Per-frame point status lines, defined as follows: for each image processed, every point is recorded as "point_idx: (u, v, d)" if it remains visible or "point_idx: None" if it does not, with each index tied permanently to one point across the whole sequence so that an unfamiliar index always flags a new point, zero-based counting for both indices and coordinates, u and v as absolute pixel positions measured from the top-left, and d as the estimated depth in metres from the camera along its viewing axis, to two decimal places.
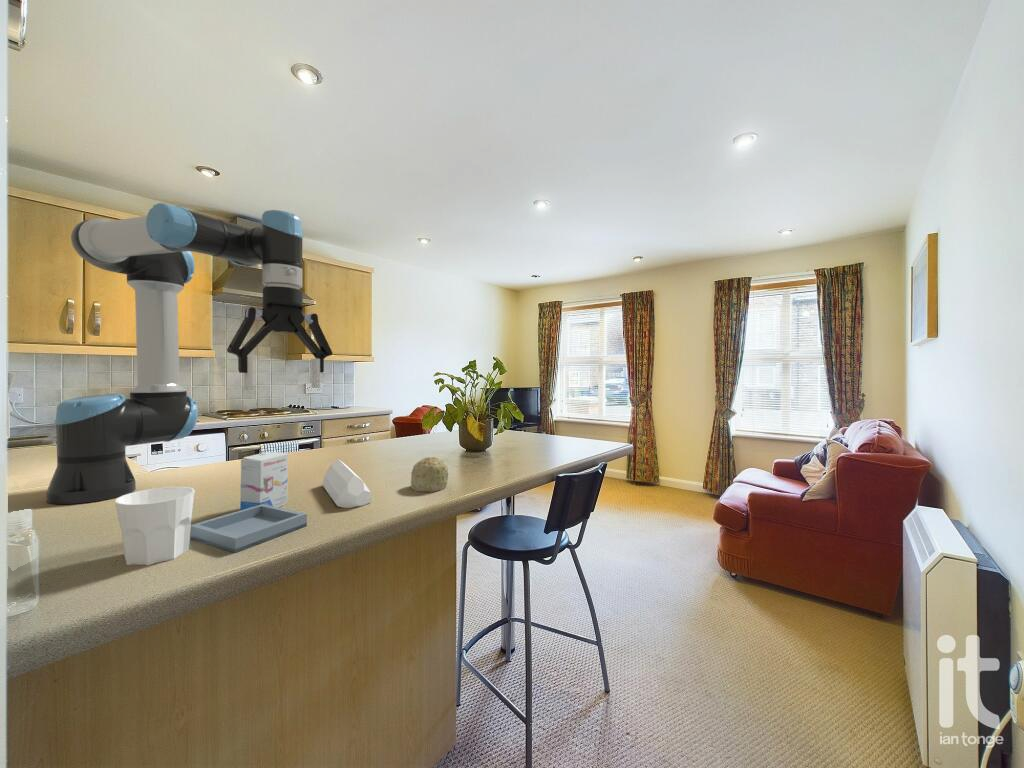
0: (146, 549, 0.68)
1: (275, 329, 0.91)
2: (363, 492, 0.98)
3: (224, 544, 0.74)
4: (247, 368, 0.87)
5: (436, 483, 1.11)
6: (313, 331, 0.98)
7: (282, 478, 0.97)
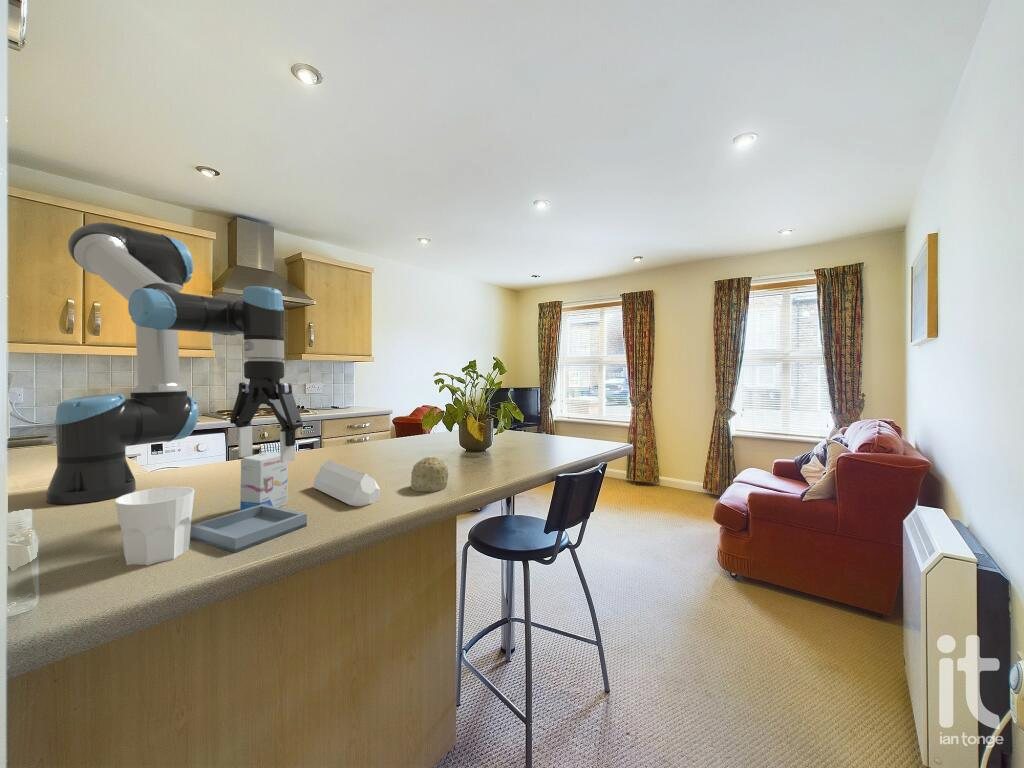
0: (146, 549, 0.68)
1: (255, 401, 0.95)
2: (375, 490, 1.00)
3: (224, 544, 0.74)
4: None
5: (436, 484, 1.11)
6: None
7: (282, 478, 0.97)
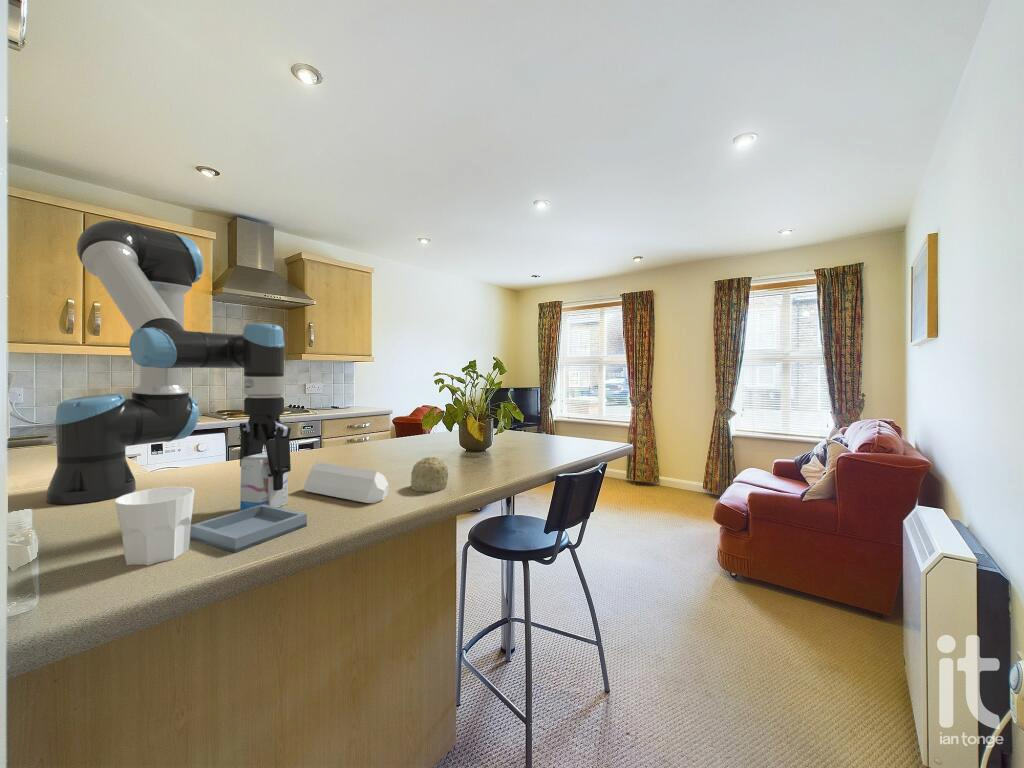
0: (146, 549, 0.68)
1: None
2: (386, 486, 1.03)
3: (224, 544, 0.74)
4: None
5: (436, 483, 1.11)
6: None
7: None
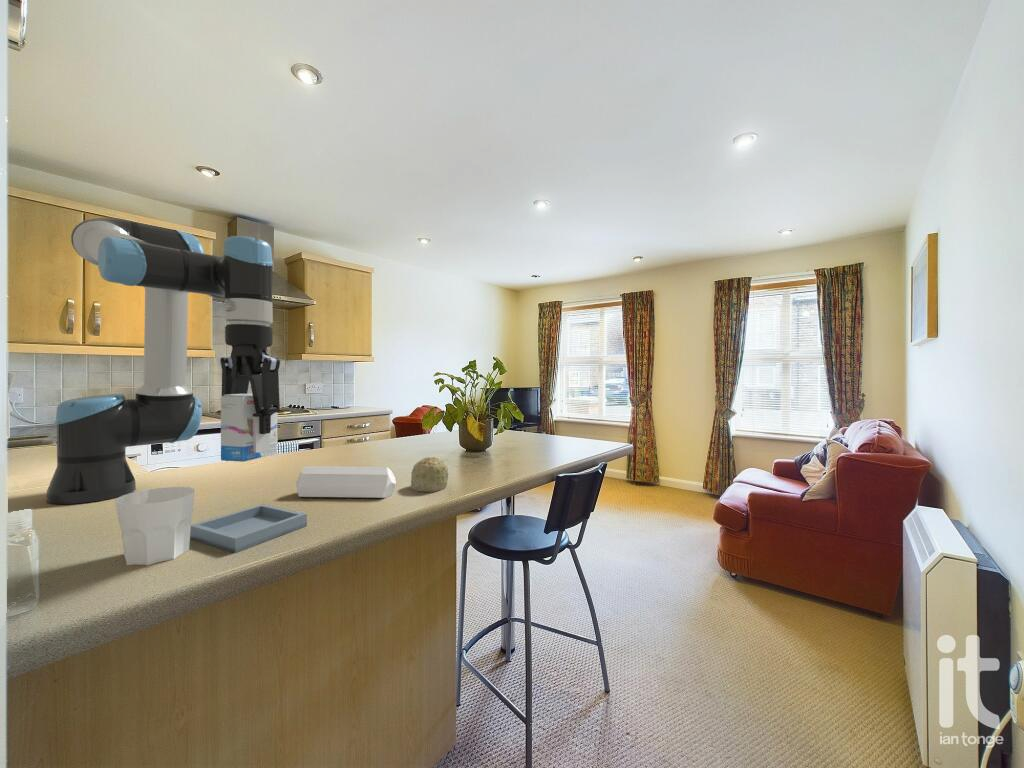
0: (146, 549, 0.68)
1: (238, 372, 0.81)
2: None
3: (224, 544, 0.74)
4: None
5: (436, 484, 1.11)
6: None
7: (271, 422, 0.83)
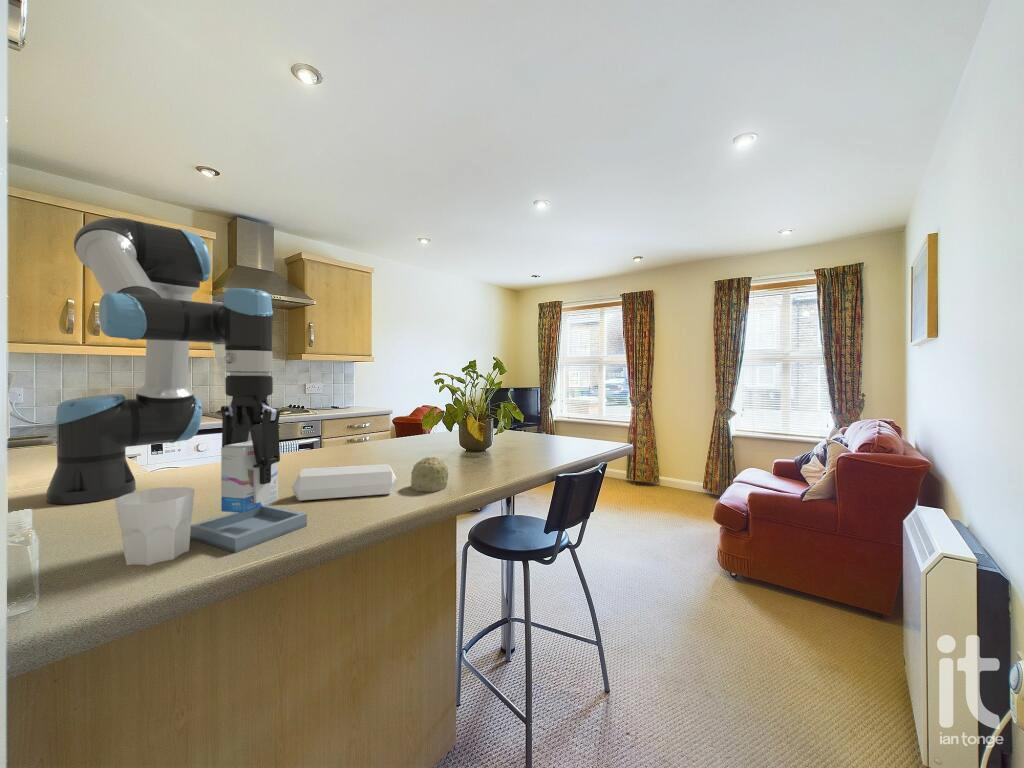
0: (146, 549, 0.68)
1: None
2: None
3: (224, 544, 0.74)
4: None
5: (436, 484, 1.11)
6: None
7: (271, 470, 0.84)
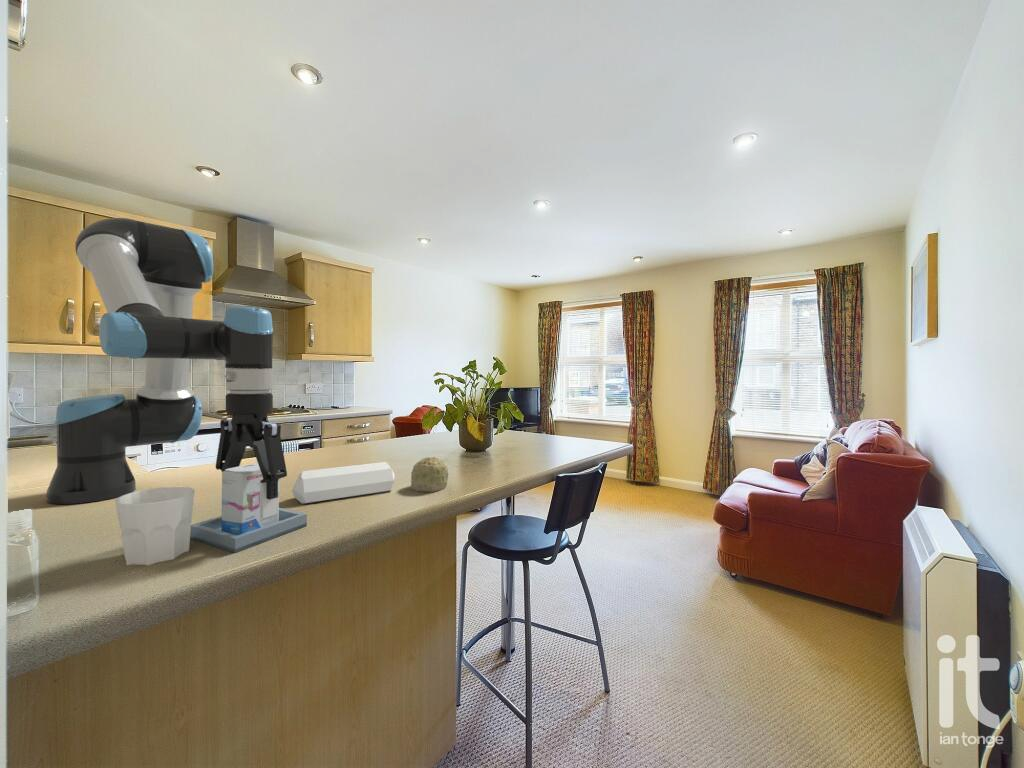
0: (146, 549, 0.68)
1: (238, 439, 0.82)
2: None
3: (224, 544, 0.74)
4: None
5: (436, 484, 1.11)
6: None
7: None
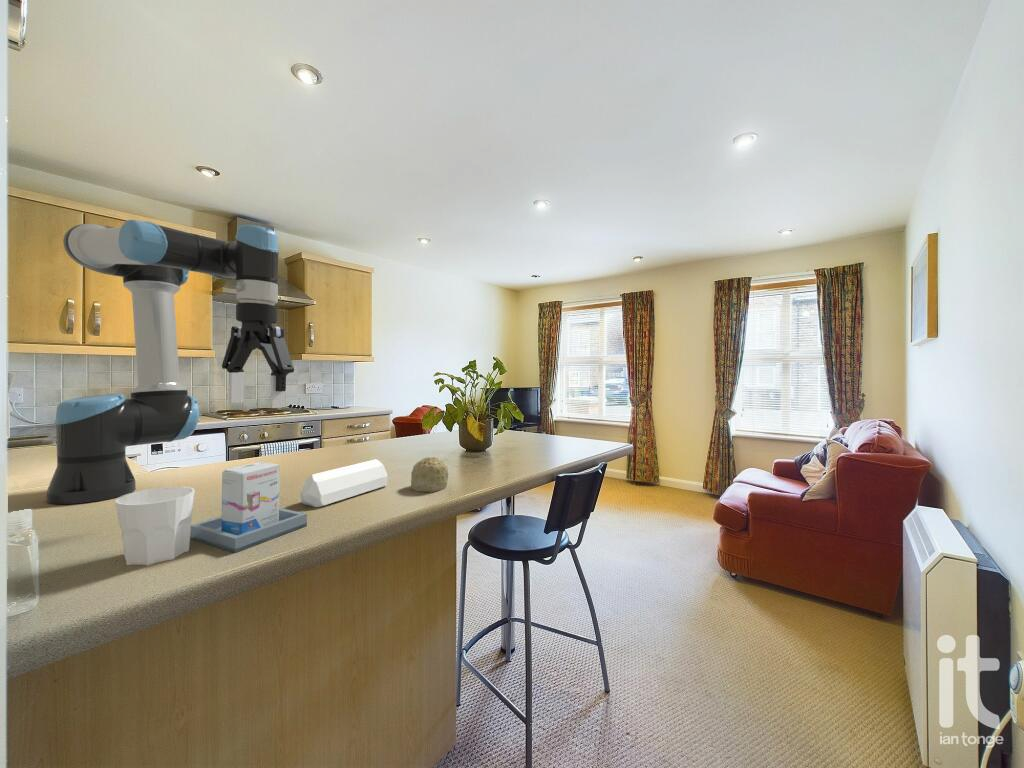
0: (146, 549, 0.68)
1: (247, 345, 0.92)
2: None
3: (224, 544, 0.74)
4: None
5: (436, 484, 1.11)
6: None
7: (272, 493, 0.84)
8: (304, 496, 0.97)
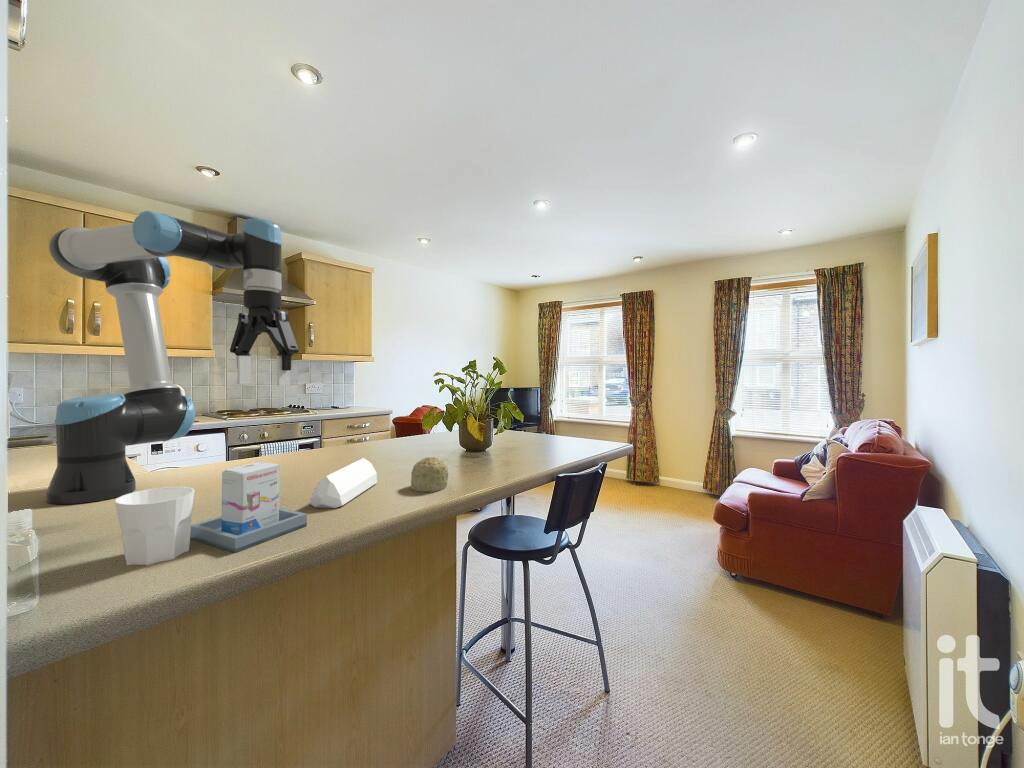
0: (146, 549, 0.68)
1: (253, 330, 1.00)
2: None
3: (224, 544, 0.74)
4: None
5: (436, 484, 1.11)
6: None
7: (272, 493, 0.84)
8: (322, 498, 0.95)
